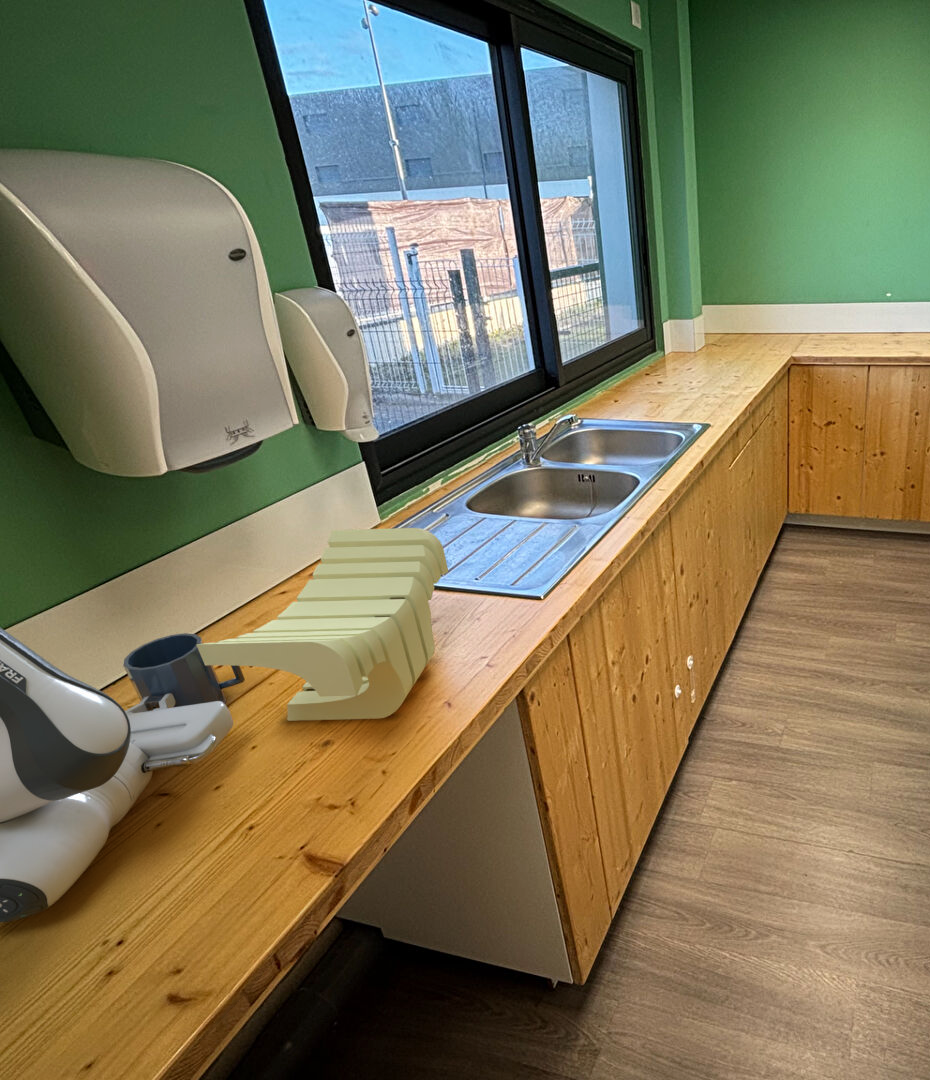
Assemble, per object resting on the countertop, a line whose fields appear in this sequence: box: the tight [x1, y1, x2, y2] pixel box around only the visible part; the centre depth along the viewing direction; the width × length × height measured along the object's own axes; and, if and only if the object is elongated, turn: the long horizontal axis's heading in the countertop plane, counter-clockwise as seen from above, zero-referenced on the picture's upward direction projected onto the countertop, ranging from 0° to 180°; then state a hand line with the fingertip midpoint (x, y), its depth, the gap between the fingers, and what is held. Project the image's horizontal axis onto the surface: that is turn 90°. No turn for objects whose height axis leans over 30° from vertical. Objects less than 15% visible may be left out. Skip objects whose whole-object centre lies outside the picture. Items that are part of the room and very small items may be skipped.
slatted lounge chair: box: [196, 527, 450, 722], centre depth 94 cm, size 30×16×18 cm, turn 0°
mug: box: [122, 632, 246, 708], centre depth 93 cm, size 11×8×10 cm
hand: (161, 699), depth 89 cm, fingers closed, pressing on mug
